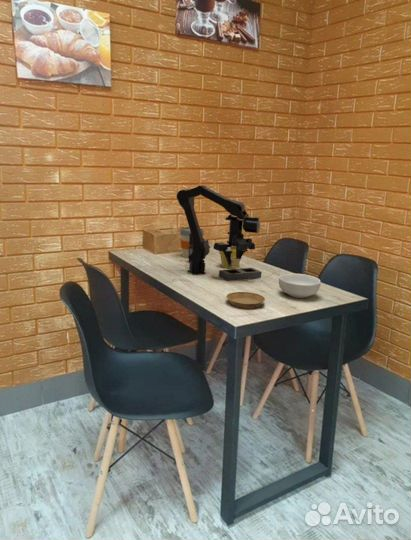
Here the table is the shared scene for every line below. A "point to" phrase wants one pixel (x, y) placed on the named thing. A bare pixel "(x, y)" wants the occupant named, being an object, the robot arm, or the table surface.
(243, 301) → the plant saucer
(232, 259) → the nut
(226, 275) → the rail
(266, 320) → the table surface
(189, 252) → the deodorant
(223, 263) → the plant pot
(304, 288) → the cereal bowl
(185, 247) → the reusable coffee cup
